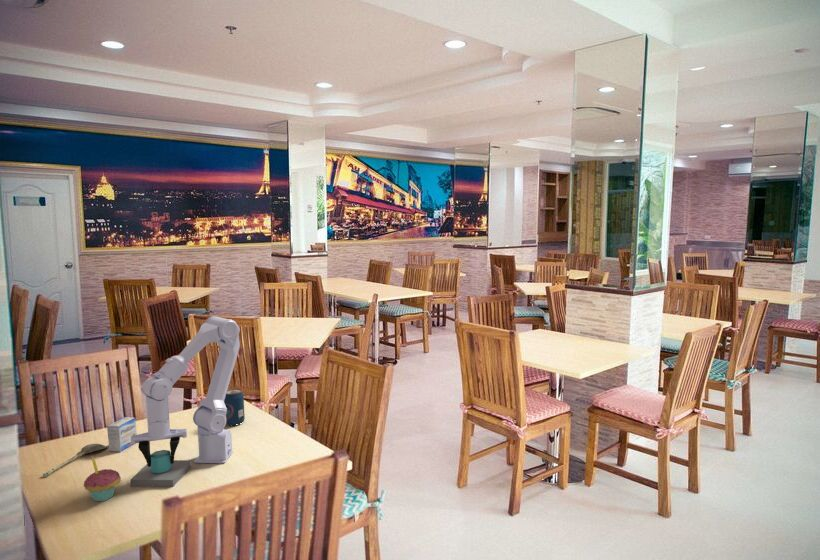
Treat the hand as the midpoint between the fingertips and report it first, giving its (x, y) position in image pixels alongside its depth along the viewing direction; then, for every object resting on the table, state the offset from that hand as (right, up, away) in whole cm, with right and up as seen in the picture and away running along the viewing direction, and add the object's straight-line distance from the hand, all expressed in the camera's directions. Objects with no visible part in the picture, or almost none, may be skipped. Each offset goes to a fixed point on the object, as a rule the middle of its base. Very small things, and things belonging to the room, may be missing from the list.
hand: (161, 463), depth 157 cm
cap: (0, -2, 0) cm, 2 cm away
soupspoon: (-31, -3, +11) cm, 33 cm away
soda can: (+8, +1, +40) cm, 41 cm away
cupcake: (-11, -5, -11) cm, 16 cm away
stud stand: (0, -4, +1) cm, 4 cm away
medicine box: (-22, -2, +21) cm, 30 cm away
